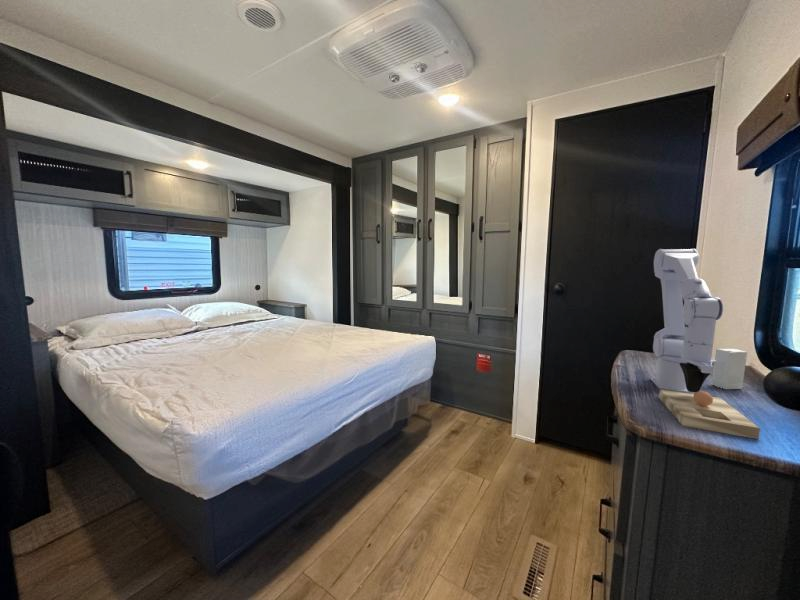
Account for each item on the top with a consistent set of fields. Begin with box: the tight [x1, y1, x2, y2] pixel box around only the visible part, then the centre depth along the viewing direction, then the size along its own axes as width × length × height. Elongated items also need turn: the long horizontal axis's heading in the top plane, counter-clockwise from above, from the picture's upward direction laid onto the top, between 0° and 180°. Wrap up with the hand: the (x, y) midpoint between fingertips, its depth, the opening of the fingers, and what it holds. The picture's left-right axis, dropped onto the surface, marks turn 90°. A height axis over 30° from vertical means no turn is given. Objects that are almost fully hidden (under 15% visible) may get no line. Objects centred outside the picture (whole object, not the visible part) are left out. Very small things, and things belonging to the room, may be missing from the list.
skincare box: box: [711, 348, 748, 390], centre depth 99 cm, size 6×4×12 cm
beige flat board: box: [658, 388, 761, 440], centre depth 80 cm, size 18×13×2 cm
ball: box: [693, 390, 713, 406], centre depth 80 cm, size 4×4×4 cm
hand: (692, 391), depth 86 cm, fingers closed
